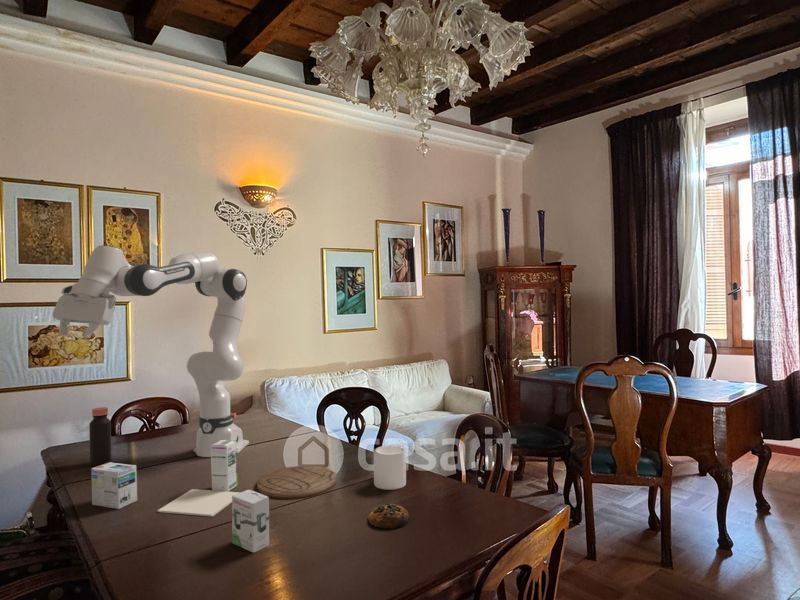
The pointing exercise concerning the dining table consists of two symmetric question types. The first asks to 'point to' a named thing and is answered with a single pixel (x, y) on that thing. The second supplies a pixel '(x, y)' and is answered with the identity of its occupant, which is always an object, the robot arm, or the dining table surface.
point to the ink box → (250, 520)
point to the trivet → (296, 482)
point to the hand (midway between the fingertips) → (73, 336)
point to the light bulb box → (114, 485)
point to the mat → (199, 502)
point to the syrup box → (224, 465)
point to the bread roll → (389, 516)
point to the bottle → (100, 437)
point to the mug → (389, 467)
